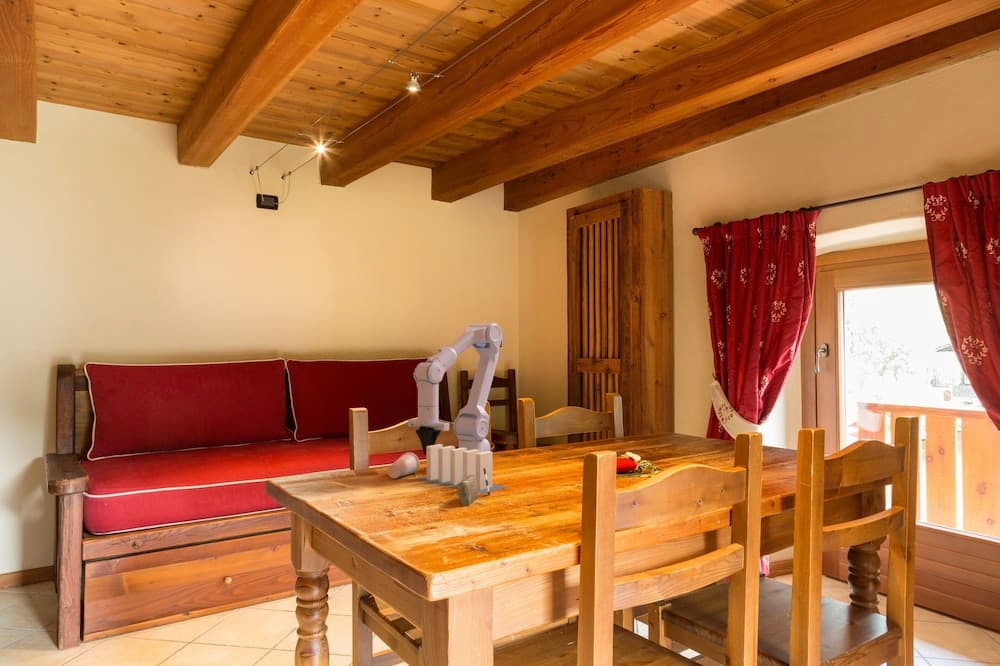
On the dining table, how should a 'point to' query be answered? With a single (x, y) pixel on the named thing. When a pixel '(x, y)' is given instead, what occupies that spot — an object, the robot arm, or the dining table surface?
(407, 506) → the dining table surface
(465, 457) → the domino
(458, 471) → the domino
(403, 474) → the smoothie
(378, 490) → the dining table surface
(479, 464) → the domino
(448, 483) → the runner mat
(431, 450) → the domino
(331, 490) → the dining table surface
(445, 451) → the domino
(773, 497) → the dining table surface
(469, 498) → the cuneiform tablet
